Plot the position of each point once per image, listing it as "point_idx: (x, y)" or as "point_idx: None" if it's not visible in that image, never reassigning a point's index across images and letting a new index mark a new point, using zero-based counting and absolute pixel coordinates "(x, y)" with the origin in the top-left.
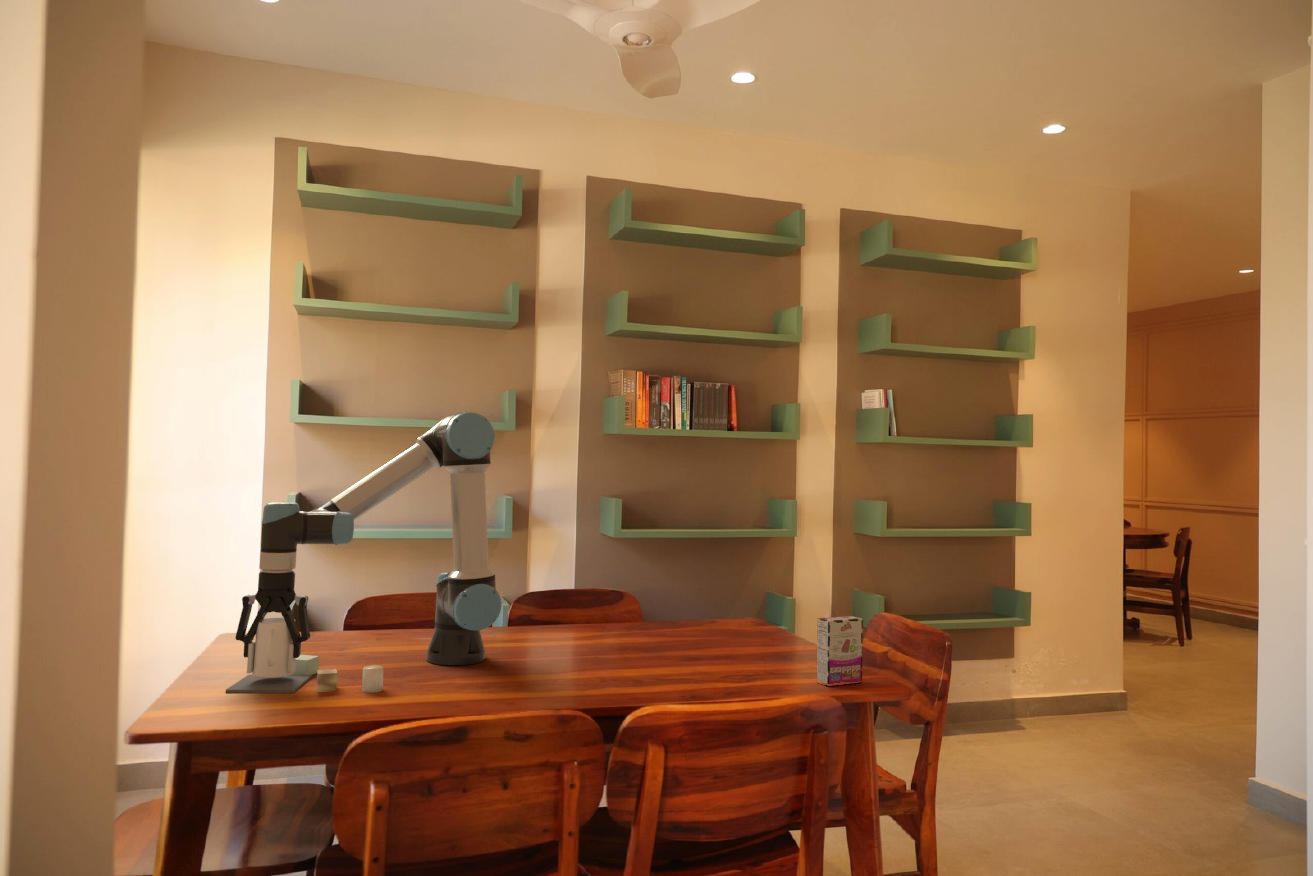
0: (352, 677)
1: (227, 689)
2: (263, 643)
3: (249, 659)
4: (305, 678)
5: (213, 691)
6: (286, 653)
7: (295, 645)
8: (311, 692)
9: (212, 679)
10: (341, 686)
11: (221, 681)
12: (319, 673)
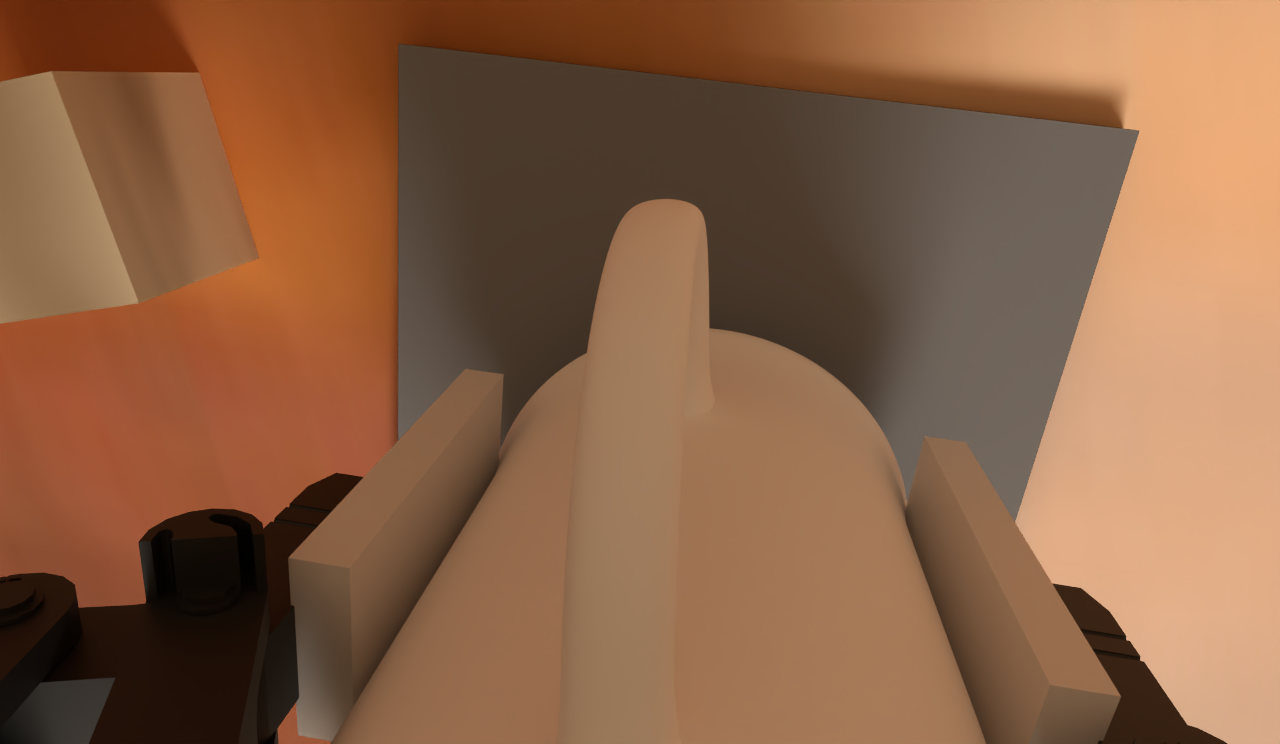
0: (86, 581)
1: (1120, 143)
2: (825, 600)
3: (993, 524)
4: None
5: (1257, 212)
6: (467, 532)
7: (277, 584)
8: (246, 64)
9: (1270, 686)
10: None
11: (1182, 605)
12: (43, 104)
